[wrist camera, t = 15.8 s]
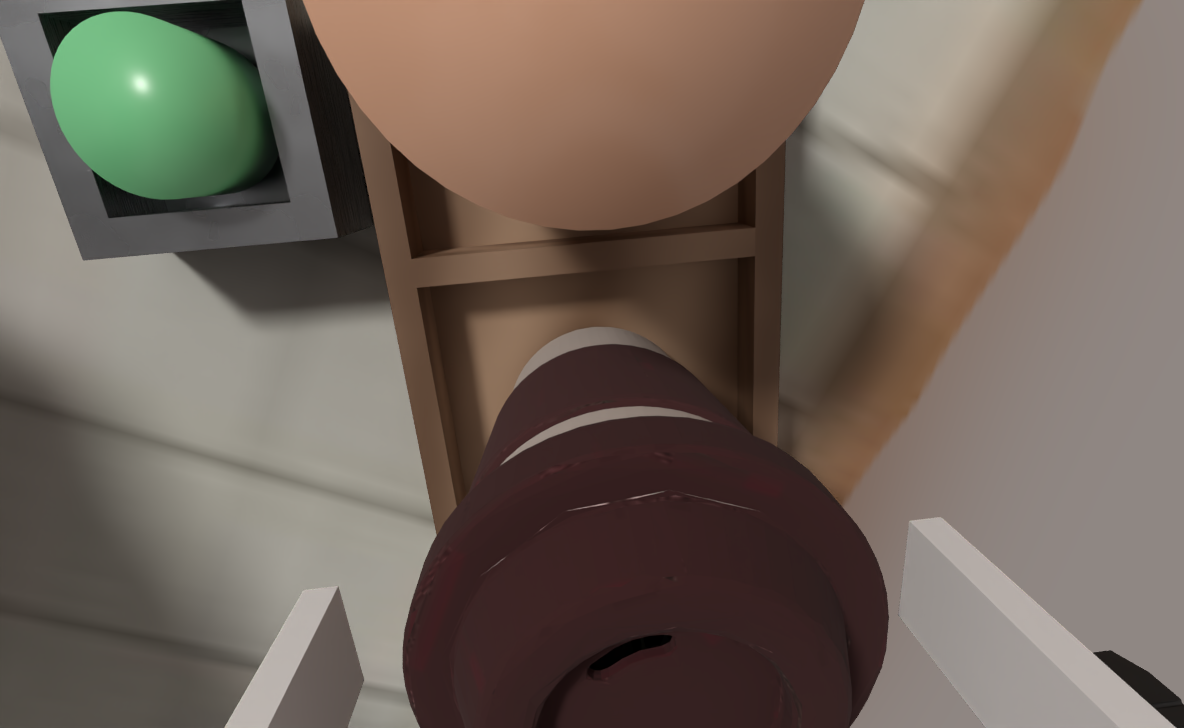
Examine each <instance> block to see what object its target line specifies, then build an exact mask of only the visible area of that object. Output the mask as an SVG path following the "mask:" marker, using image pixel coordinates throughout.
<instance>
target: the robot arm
mask: <svg viewBox="0 0 1184 728" xmlns="http://www.w3.org/2000/svg"><path fill="white" fill-rule="evenodd" d="M898 616H899V617H900V618H901V620H902V621H903V622H904V623H905V625H906V626H907V627H908V629H909V630H910V631H911V632H912V634H913V635H914V636H915V638H916V639H917V640H918V641H919V643H920V644H921V645H922V647H923V648H924V649H925V650H926V652H927V653H928V654H929V656H930V657H931V658H932V659H933V661H934V662H935V663H936V664H937V666H938V667H939V668H940V670H941V671H942V672H943V673H944V675H945V676H946V678H947V679H948V680H949V681H950V683H951V684H952V685H953V687H954V688H955V689H956V690H957V692H958V693H959V694H960V696H961V697H962V698H963V699H964V701H965V702H966V703H967V704H968V706H969V707H970V708H971V710H972V711H973V712H974V714H975V715H976V716H977V717H978V719H979V720H980V721H981V722H982V724H983V725H984V726H985V727H986V728H1184V705H1183V704H1182V702H1181V699H1180V698H1179V697H1178V696H1176V695H1175V694H1174V693H1173V692H1172V691H1170V690H1169V689H1168V688H1167V687H1166V686H1165V685H1163V684H1162V683H1161V682H1160V681H1159V680H1157V679H1156V678H1155V677H1154V676H1153V675H1152V674H1150V673H1149V672H1148V671H1146V670H1144V669H1142V668H1141V667H1139V666H1137V665H1135V664H1134V663H1132V662H1130V661H1128V660H1127V659H1125V658H1123V657H1121V656H1120V655H1118V654H1116V653H1114V652H1113V651H1102V652H1094V653H1092V652H1091V651H1090V650H1088V649H1087V647H1085V646H1084V645H1083V644H1082V643H1081V642H1080V641H1079V640H1078V639H1076V638H1075V637H1074V636H1073V635H1072V634H1071V633H1070V632H1069V631H1067V630H1066V629H1065V628H1064V627H1063V626H1062V625H1061V624H1060V623H1059V622H1058V621H1056V620H1055V619H1054V618H1053V617H1052V616H1051V615H1050V614H1049V613H1047V612H1046V611H1045V610H1044V609H1043V608H1042V607H1041V606H1040V605H1039V604H1037V603H1036V602H1035V601H1034V600H1033V599H1032V598H1031V597H1030V596H1029V595H1027V594H1026V593H1025V592H1024V591H1023V590H1022V589H1020V587H1018V586H1017V585H1016V584H1015V583H1014V582H1013V581H1012V580H1010V579H1009V578H1008V577H1007V576H1006V575H1005V574H1004V573H1003V572H1002V571H1001V570H1000V569H998V568H997V567H996V566H995V565H994V564H993V563H992V562H991V561H989V560H988V559H987V558H986V557H985V556H984V555H983V554H982V553H981V552H979V551H978V550H977V549H976V548H975V547H974V546H973V545H972V544H970V543H969V542H968V541H967V540H966V539H965V538H964V537H963V536H962V535H960V534H959V533H958V532H957V531H956V530H955V529H954V528H953V527H952V526H950V525H949V524H948V523H947V522H946V521H945V520H944V519H943V518H941V517H938V518H930V519H922V520H913V521H909V528H908V536H907V544H906V554H905V562H904V570H903V579H902V587H901V596H900V604H899V613H898ZM363 682H364V677H363V674H362V670H361V667H360V663H359V659H358V656H357V652H356V648H355V645H354V641H353V638H352V634H351V630H350V627H349V623H348V620H347V616H346V612H345V609H344V605H343V601H342V598H341V594H340V591H339V587H338V586H334V587H325V588H316V589H308V590H303V592H302V593H301V595H300V597H299V599H298V600H297V602H296V604H295V606H294V607H293V609H292V611H291V613H290V614H289V616H288V618H287V619H286V621H285V623H284V625H283V626H282V628H281V630H280V632H279V633H278V635H277V637H276V639H275V640H274V642H273V644H272V646H271V647H270V649H269V651H268V653H267V654H266V656H265V658H264V660H263V661H262V663H261V665H260V666H259V668H258V670H257V672H256V673H255V675H254V677H253V679H252V680H251V682H250V684H249V686H248V687H247V689H246V691H245V693H244V694H243V696H242V698H241V700H240V701H239V703H238V705H237V707H236V708H235V710H234V712H233V713H232V715H231V717H230V719H229V720H228V722H227V724H226V726H225V727H224V728H347V727H348V724H349V721H350V718H351V716H352V713H353V710H354V707H355V704H356V702H357V699H358V696H359V693H360V690H361V688H362V685H363Z"/></svg>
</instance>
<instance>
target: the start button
mask: <svg viewBox="0 0 1184 728" xmlns="http://www.w3.org/2000/svg"><path fill="white" fill-rule="evenodd" d="M50 92H51V99H52V105H53V108H54V112H55V115H56V118H57V120H58V123H59V125H60V128H61V130H62V132H63V133H64V135H65V137H66V139H67V141H68V142H69V143H70V145H71V146H72V148H73V149H74V151H75V152H76V153H77V154H78V155H79V157H80V158H81V159H82V160H83V161H84V162H85V163H86V164H87V165H88V166H89V167H90V168H91V169H92V170H93V171H94V172H96V173H97V174H98V175H99V176H101V177H102V178H103V179H105V180H106V181H108V182H110V183H111V184H113V185H114V186H116V187H118V188H120V189H122V190H125V191H127V192H129V193H132V194H135V195H138V196H142V197H146V198H152V199H161V200H165V199H182V198H193V197H204V196H215V195H226V194H233V193H237V192H241V191H244V190H246V189H248V188H250V187H253V186H254V185H256V184H257V183H258V182H260V181H261V180H262V179H263V178H264V177H265V176H266V175H267V174H268V173H269V171H270V170H271V169H272V167H273V166H274V164H275V162H276V160H277V157H278V155H279V152H278V148H277V144H276V140H275V136H274V131H273V127H272V123H271V119H270V115H269V111H268V107H267V103H266V99H265V94H264V90H263V86H262V82H261V78H260V74H259V71H258V69H257V68H256V67H255V66H254V65H253V64H252V63H251V62H250V61H249V60H248V59H246V58H245V57H244V56H243V55H241V54H240V53H239V52H237V51H236V50H234V49H233V48H231V47H229V46H227V45H225V44H223V43H221V42H218V41H216V40H213V39H211V38H208V37H205V36H203V35H200V34H197V33H195V32H192V31H189V30H187V29H184V28H181V27H179V26H176V25H173V24H171V23H168V22H165V21H163V20H160V19H157V18H154V17H152V16H148V15H144V14H141V13H134V12H108V13H102V14H99V15H96V16H93V17H90V18H88V19H87V20H85V21H83V22H81V23H80V24H78V25H77V26H76V27H74V28H73V29H72V30H71V31H70V32H69V33H68V34H67V35H66V36H65V38H64V39H63V41H62V42H61V44H60V45H59V47H58V49H57V52H56V54H55V56H54V60H53V63H52V67H51V76H50Z"/></svg>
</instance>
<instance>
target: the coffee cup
mask: <svg viewBox="0 0 1184 728" xmlns="http://www.w3.org/2000/svg"><path fill="white" fill-rule="evenodd" d="M888 620H889V615H888V602H887V592H886V588H885V585H884V580H883V576H882V573H881V570H880V567H879V564H878V562H877V559H876V557H875V555H874V553H873V551H872V549H871V547H870V545H869V543H868V541H867V539H866V537H865V536H864V534H863V533H862V532H861V530H860V529H859V527H858V526H857V524H856V523H855V522H854V521H853V520H852V518H851V517H850V516H849V515H848V514H847V512H846V511H845V510H844V509H843V508H842V506H841V505H840V504H839V503H838V502H837V501H836V499H835V498H834V497H833V496H832V495H831V493H830V492H829V491H828V490H827V489H826V488H825V487H824V486H823V484H822V483H821V482H820V481H819V480H818V479H817V478H816V477H815V476H814V475H813V474H812V473H811V472H810V471H809V470H808V469H807V468H806V467H804V466H803V465H802V464H800V463H799V462H798V461H797V460H795V459H794V458H793V457H791V456H790V455H788V454H787V453H785V452H784V451H782V450H781V449H779V448H778V447H776V446H775V445H773V444H772V443H770V442H767V441H765V440H763V439H760V438H758V437H756V436H753V435H752V434H751V433H750V432H749V431H748V430H747V429H746V428H745V427H744V426H743V425H742V424H741V423H740V422H739V421H738V420H737V419H736V418H735V417H734V416H733V415H732V414H731V413H730V412H729V410H728V409H727V408H726V407H725V406H724V405H723V404H722V403H721V402H720V401H719V400H718V399H717V398H716V397H715V396H714V395H713V394H712V393H711V392H710V391H709V390H708V389H707V388H706V387H705V386H704V385H703V384H702V383H701V382H700V381H699V380H698V379H697V378H696V377H695V376H694V375H693V374H692V373H691V372H690V371H688V370H687V369H686V368H685V367H683V366H682V365H681V364H679V363H677V362H676V361H674V360H672V359H671V358H670V357H669V356H668V355H667V354H666V353H665V352H664V351H663V350H662V349H661V348H660V347H658V346H657V345H656V344H655V343H653V342H652V341H650V340H648V339H647V338H645V337H643V336H641V335H639V334H636V333H634V332H631V331H627V330H624V329H619V328H613V327H590V328H584V329H579V330H575V331H572V332H569V333H567V334H564V335H562V336H560V337H558V338H556V339H554V340H552V341H551V342H549V343H548V344H546V345H545V346H544V347H542V348H541V349H540V350H539V351H538V352H537V353H536V354H535V355H534V356H533V357H532V358H531V359H530V360H529V361H528V363H527V364H526V365H525V366H524V368H523V370H522V371H521V373H520V375H519V377H518V379H517V381H516V383H515V386H514V389H513V392H512V393H511V394H510V396H509V397H508V399H507V400H506V402H505V403H504V405H503V407H502V409H501V411H500V412H499V414H498V416H497V419H496V422H495V424H494V427H493V429H492V432H491V435H490V437H489V440H488V443H487V445H486V448H485V451H484V453H483V456H482V459H481V461H480V464H479V466H478V469H477V472H476V474H475V477H474V480H473V482H472V485H471V488H470V490H469V493H468V494H467V495H466V496H465V498H464V499H463V500H462V501H461V502H460V504H459V505H458V506H457V507H456V508H455V509H454V511H453V512H452V513H451V515H450V516H449V517H448V518H447V520H446V521H445V522H444V524H443V526H442V528H441V529H440V531H439V533H438V535H437V536H436V538H435V540H434V542H433V544H432V546H431V548H430V550H429V553H428V555H427V557H426V560H425V562H424V565H423V568H422V571H421V574H420V578H419V581H418V584H417V587H416V590H415V593H414V596H413V599H412V603H411V606H410V610H409V614H408V619H407V623H406V627H405V632H404V641H403V673H404V680H405V687H406V691H407V694H408V698H409V702H410V705H411V708H412V710H413V713H414V715H415V717H416V720H417V722H418V724H419V726H420V728H850V726H851V725H852V723H853V722H854V721H855V719H856V718H857V716H858V715H859V713H860V711H861V710H862V708H863V706H864V704H865V703H866V701H867V700H868V697H869V695H870V693H871V690H872V688H873V686H874V684H875V682H876V679H877V677H878V675H879V673H880V670H881V668H882V664H883V660H884V656H885V652H886V644H887V632H888Z"/></svg>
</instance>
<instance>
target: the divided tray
mask: <svg viewBox="0 0 1184 728" xmlns="http://www.w3.org/2000/svg"><path fill="white" fill-rule="evenodd" d="M348 94H349V99H350V104H351V109H352V114H353V119H354V124H355V129H356V134H357V139H358V144H359V149H360V154H361V159H362V164H363V169H364V174H365V179H366V184H367V189H368V194H369V199H370V204H371V209H372V214H373V219H374V224H375V229H376V234H377V239H378V244H379V249H380V254H381V259H382V264H383V269H384V274H385V279H386V284H387V289H388V294H389V299H390V304H391V309H392V314H393V319H394V324H395V329H396V334H397V339H398V344H399V349H400V354H401V359H402V364H403V369H404V374H405V379H406V384H407V389H408V394H409V399H410V404H411V409H412V414H413V419H414V424H415V429H416V434H417V439H418V444H419V449H420V454H421V459H422V464H423V469H424V474H425V479H426V484H427V489H428V494H429V499H430V504H431V509H432V514H433V519H434V524H435V529H436V534H437V535H438V533H439V531H440V529H441V528H442V526H443V524H444V522H445V521H446V520H447V518H448V517H449V516H450V515H451V513H452V512H453V511H454V509H455V508H456V507H457V506H458V505H459V504H460V502H461V501H462V500H463V499H464V498H465V496H466V495H467V494H468V493H469V490H470V488H471V485H472V482H473V480H474V477H475V474H476V472H477V469H478V466H479V464H480V461H481V459H482V456H483V453H484V451H485V448H486V445H487V443H488V440H489V437H490V435H491V432H492V429H493V427H494V424H495V422H496V419H497V416H498V414H499V412H500V411H501V409H502V407H503V405H504V403H505V402H506V400H507V399H508V397H509V396H510V394H511V393H512V392H513V389H514V386H515V383H516V381H517V379H518V377H519V375H520V373H521V371H522V370H523V368H524V366H525V365H526V364H527V363H528V361H529V360H530V359H531V358H532V357H533V356H534V355H535V354H536V353H537V352H538V351H539V350H540V349H541V348H542V347H544V346H545V345H546V344H548V343H549V342H551V341H552V340H554V339H556V338H558V337H560V336H562V335H564V334H567V333H569V332H572V331H575V330H579V329H584V328H590V327H613V328H619V329H624V330H627V331H631V332H634V333H636V334H639V335H641V336H643V337H645V338H647V339H648V340H650V341H652V342H653V343H655V344H656V345H657V346H658V347H660V348H661V349H662V350H663V351H664V352H665V353H666V354H667V355H668V356H669V357H670V358H671V359H672V360H674V361H676V362H677V363H679V364H681V365H682V366H683V367H685V368H686V369H687V370H688V371H690V372H691V373H692V374H693V375H694V376H695V377H696V378H697V379H698V380H699V381H700V382H701V383H702V384H703V385H704V386H705V387H706V388H707V389H708V390H709V391H710V392H711V393H712V394H713V395H714V396H715V397H716V398H717V399H718V400H719V401H720V402H721V403H722V404H723V405H724V406H725V407H726V408H727V409H728V410H729V412H730V413H731V414H732V415H733V416H734V417H735V418H736V419H737V420H738V421H739V422H740V423H741V424H742V425H743V426H744V427H745V428H746V429H747V430H748V431H749V432H750V433H751V434H752V435H753V436H756V437H758V438H760V439H763V440H765V441H767V442H770V443H772V444H773V445H775V446H776V447H777V440H778V404H779V367H780V331H781V294H782V258H783V221H784V185H785V149H786V140H785V141H784V142H783V143H782V145H781V146H780V147H779V148H778V149H777V150H776V151H775V152H774V153H773V154H772V155H771V156H770V157H769V158H768V159H767V160H766V161H764V162H763V163H762V164H761V165H759V166H758V167H757V168H756V169H754V170H753V171H752V172H751V173H749V174H748V175H747V176H746V177H744V178H743V179H742V180H741V181H739V182H738V183H737V184H735V185H733V186H732V187H730V188H728V189H727V190H725V191H723V192H722V193H720V194H719V195H717V196H715V197H714V198H712V199H710V200H709V201H707V202H705V203H702V204H700V205H698V206H696V207H693V208H691V209H689V210H687V211H684V212H682V213H680V214H678V215H675V216H671V217H668V218H665V219H661V220H658V221H655V222H651V223H648V224H645V225H638V226H632V227H626V228H619V229H613V230H579V231H578V230H569V229H560V228H551V227H543V226H539V225H535V224H531V223H527V222H523V221H519V220H515V219H511V218H509V217H506V216H503V215H501V214H498V213H496V212H493V211H491V210H488V209H486V208H483V207H480V206H478V205H476V204H474V203H473V202H471V201H469V200H467V199H465V198H463V197H462V196H460V195H458V194H456V193H454V192H452V191H451V190H449V189H447V188H445V187H444V186H443V185H441V184H440V183H439V182H437V181H436V180H434V179H433V178H432V177H430V176H429V175H427V174H426V173H425V172H423V171H422V170H420V169H419V168H418V167H416V166H415V165H414V164H413V163H412V162H411V161H410V160H409V159H408V158H406V157H405V156H404V155H403V154H402V153H401V152H400V151H399V150H398V149H397V148H396V147H394V146H393V145H392V144H391V143H390V142H389V141H388V140H387V139H386V138H385V137H384V136H383V134H382V133H381V132H380V131H379V130H378V129H377V127H376V126H375V125H374V124H373V123H372V122H371V120H370V119H369V118H368V117H367V116H366V115H365V113H364V112H363V111H362V110H361V109H360V107H359V106H358V104H357V103H356V101H355V100H354V98H353V97H352V95H351V94H350V93H349V91H348Z"/></svg>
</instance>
